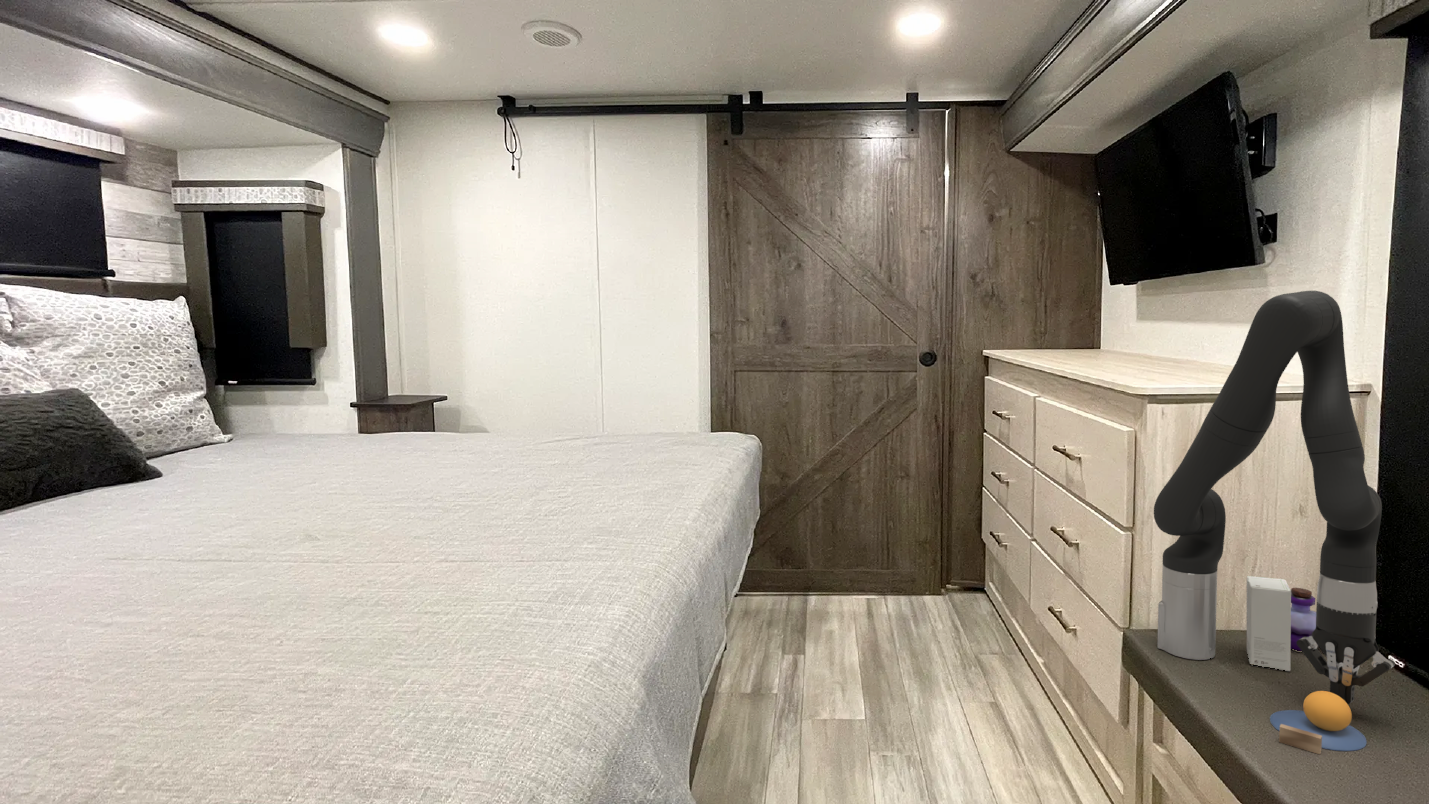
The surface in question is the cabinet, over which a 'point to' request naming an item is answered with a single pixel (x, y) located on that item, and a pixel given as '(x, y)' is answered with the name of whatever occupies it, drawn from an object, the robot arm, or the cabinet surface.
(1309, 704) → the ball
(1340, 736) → the disc
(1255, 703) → the cabinet surface
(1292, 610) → the potion bottle
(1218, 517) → the robot arm
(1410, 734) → the cabinet surface
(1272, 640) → the skincare box
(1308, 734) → the wall
